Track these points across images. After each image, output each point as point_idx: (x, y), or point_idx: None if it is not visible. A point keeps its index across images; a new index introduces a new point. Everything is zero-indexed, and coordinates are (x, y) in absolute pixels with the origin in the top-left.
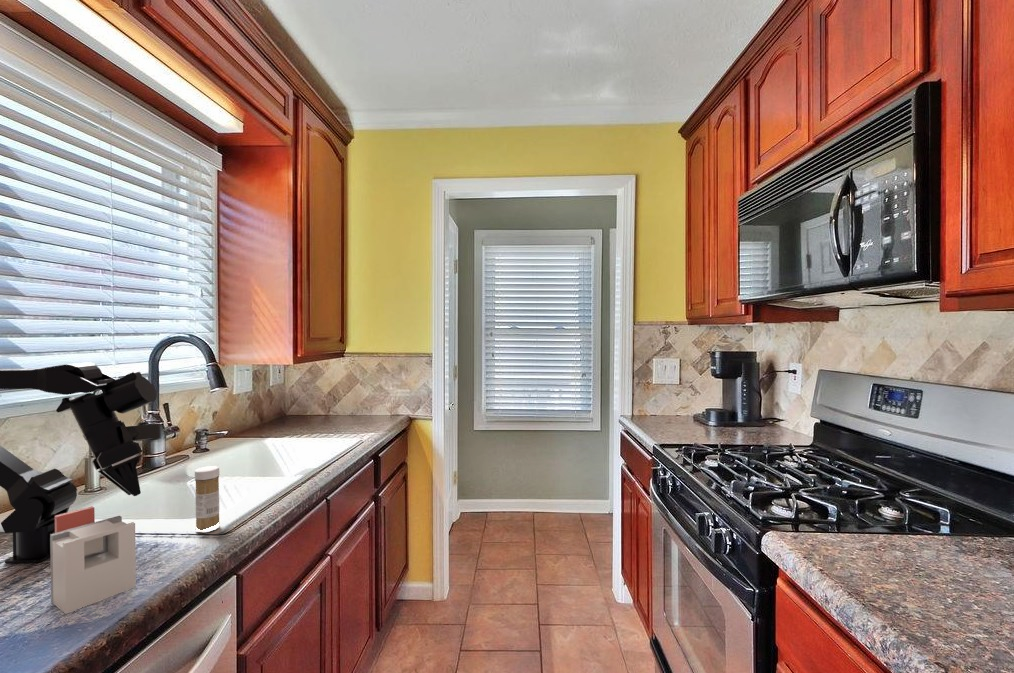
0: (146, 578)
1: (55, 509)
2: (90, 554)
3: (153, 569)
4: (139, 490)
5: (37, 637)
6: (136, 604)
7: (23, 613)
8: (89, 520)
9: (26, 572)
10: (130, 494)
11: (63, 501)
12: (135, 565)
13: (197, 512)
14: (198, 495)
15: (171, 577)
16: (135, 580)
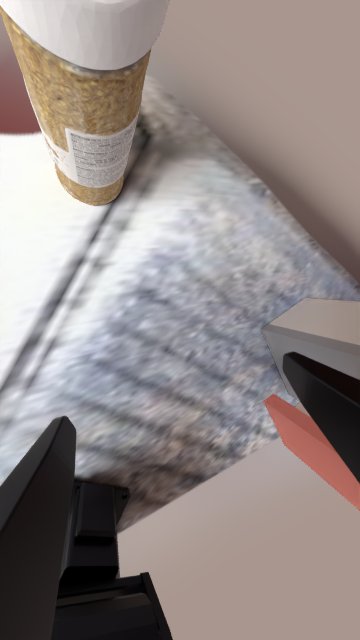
0: (286, 287)
1: (144, 607)
2: None
3: (260, 282)
4: (305, 359)
5: None
6: (347, 288)
7: None
8: None
9: (165, 485)
10: (73, 426)
11: (110, 636)
12: (336, 300)
13: (115, 174)
14: (125, 130)
15: (302, 251)
16: (313, 299)
